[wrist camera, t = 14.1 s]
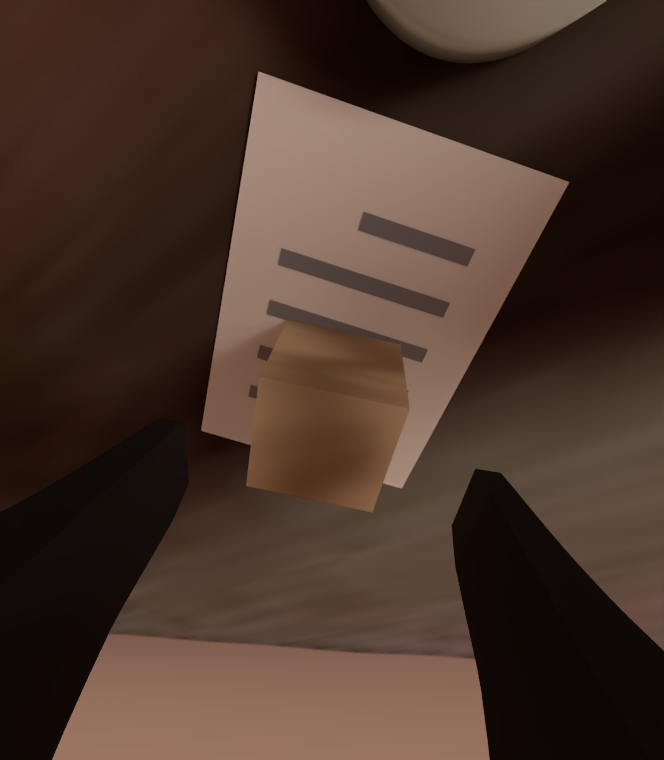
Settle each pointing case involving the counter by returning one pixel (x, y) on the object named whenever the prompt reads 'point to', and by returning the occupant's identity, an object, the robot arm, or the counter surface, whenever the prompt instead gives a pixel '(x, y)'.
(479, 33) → the puck
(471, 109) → the counter surface
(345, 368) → the maple block
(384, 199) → the letter
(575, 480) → the counter surface
